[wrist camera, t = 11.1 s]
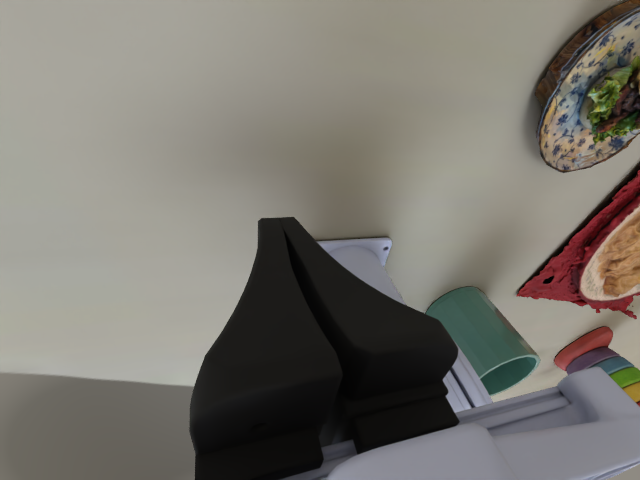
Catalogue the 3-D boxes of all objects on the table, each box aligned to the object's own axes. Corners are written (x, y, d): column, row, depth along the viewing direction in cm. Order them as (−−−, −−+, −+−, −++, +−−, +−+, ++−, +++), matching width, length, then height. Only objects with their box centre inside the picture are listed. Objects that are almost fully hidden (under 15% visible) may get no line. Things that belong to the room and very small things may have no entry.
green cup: (466, 325, 42) (515, 390, 36) (415, 333, 40) (456, 404, 33) (493, 283, 38) (555, 349, 31) (436, 290, 36) (489, 362, 29)
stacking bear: (599, 348, 62) (706, 449, 49) (550, 371, 63) (641, 476, 50) (609, 322, 55) (737, 432, 42) (554, 348, 56) (662, 464, 43)
